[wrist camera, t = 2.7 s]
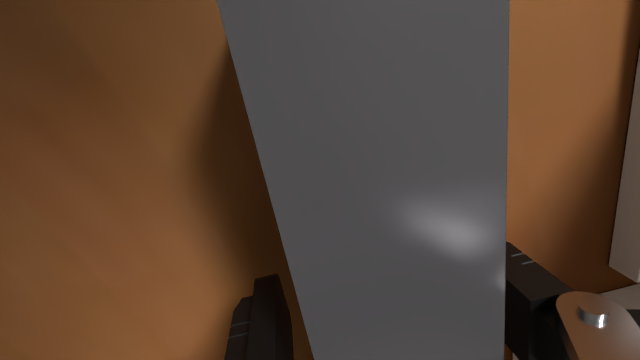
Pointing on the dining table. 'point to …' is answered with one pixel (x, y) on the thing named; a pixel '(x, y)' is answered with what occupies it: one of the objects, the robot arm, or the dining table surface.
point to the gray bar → (384, 167)
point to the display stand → (628, 213)
